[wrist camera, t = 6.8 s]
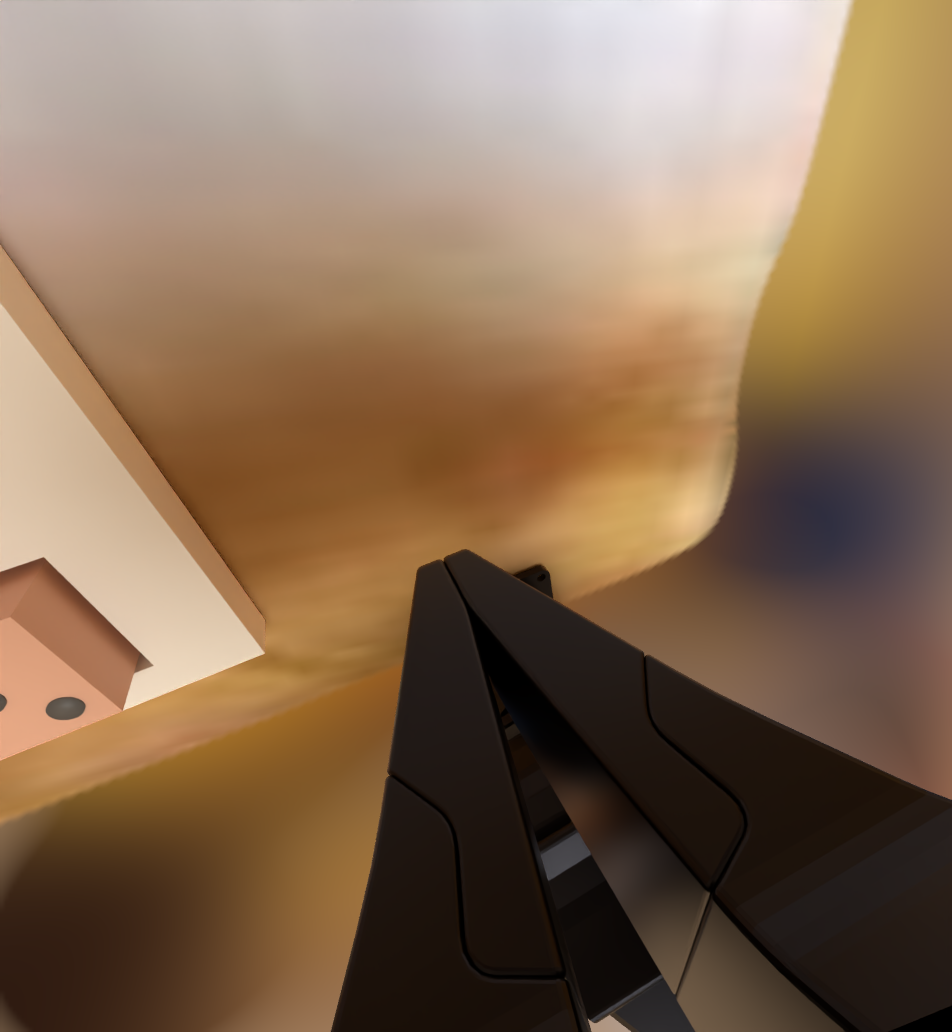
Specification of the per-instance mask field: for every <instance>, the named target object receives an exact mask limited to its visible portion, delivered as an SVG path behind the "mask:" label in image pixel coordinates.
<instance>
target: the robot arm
mask: <svg viewBox="0 0 952 1032" xmlns="http://www.w3.org/2000/svg"><path fill="white" fill-rule="evenodd" d="M539 575H540V576H539ZM538 576H539V577H538ZM391 743H392V744H391V749H390V756H389V763H388V769H387V772H388V774H389V775H390V776H388V777H387V778H386V781H385V788H384V794H383V801H382V808H381V814H380V820H379V826H378V831H377V837H376V842H375V848H374V854H373V860H372V865H371V870H370V874H369V878H368V883H367V887H366V891H365V896H364V900H363V904H362V909H361V913H360V917H359V922H358V926H357V930H356V935H355V938H354V942H353V947H352V951H351V954H350V959H349V962H348V966H347V970H346V974H345V978H344V982H343V986H342V990H341V994H340V998H339V1002H338V1005H337V1010H336V1013H335V1017H334V1021H333V1025H332V1030H331V1032H591V1028H590V1025H589V1021H588V1019H589V1020H591V1021H592V1022H594V1023H597V1022H599V1021H601V1020H602V1019H604V1018H605V1017H607V1016H609V1015H611V1016H612V1017H614V1018H615V1019H616V1020H617V1021H618V1022H620V1023H621V1024H622V1025H623V1026H625V1027H626V1028H628V1029H629V1030H630V1031H631V1032H952V800H950V799H948V798H945V797H943V796H940V795H937V794H935V793H932V792H929V791H927V790H925V789H922V788H920V787H918V786H915V785H913V784H911V783H909V782H906V781H904V780H902V779H900V778H897V777H895V776H893V775H891V774H889V773H887V772H884V771H882V770H880V769H878V768H876V767H874V766H872V765H869V764H867V763H865V762H863V761H861V760H859V759H856V758H854V757H852V756H850V755H848V754H846V753H843V752H841V751H839V750H837V749H834V748H833V747H831V746H828V745H826V744H824V743H821V742H820V741H818V740H815V739H813V738H811V737H809V736H807V735H805V734H802V733H800V732H798V731H796V730H794V729H792V728H789V727H787V726H785V725H783V724H781V723H779V722H776V721H774V720H772V719H770V718H768V717H766V716H764V715H761V714H760V713H757V712H755V711H753V710H751V709H749V708H747V707H745V706H743V705H741V704H739V703H737V702H735V701H732V700H731V699H729V698H727V697H725V696H723V695H721V694H719V693H716V692H714V691H713V690H711V689H709V688H707V687H706V686H704V685H702V684H700V683H698V682H696V681H695V680H693V679H691V678H689V677H687V676H686V675H684V674H682V673H680V672H678V671H676V670H675V669H673V668H671V667H669V666H668V665H666V664H664V663H662V662H661V661H659V660H657V659H656V658H654V657H652V656H651V655H646V656H645V658H644V652H643V651H641V650H640V649H638V648H637V647H635V646H633V645H631V644H630V643H628V642H626V641H624V640H623V639H621V638H619V637H618V636H616V635H614V634H612V633H611V632H609V631H607V630H606V629H604V628H602V627H600V626H599V625H597V624H595V623H594V622H592V621H590V620H588V619H587V618H585V617H583V616H582V615H580V614H578V613H576V612H574V611H573V610H571V609H569V608H568V607H566V606H564V605H563V604H561V603H559V602H557V601H556V600H554V599H553V595H552V587H551V580H550V574H549V572H548V570H547V569H546V568H545V567H544V566H538V567H535V568H533V569H530V570H528V571H525V572H523V573H521V574H518V575H516V576H513V575H511V574H509V573H508V572H506V571H504V570H502V569H501V568H499V567H497V566H496V565H494V564H492V563H490V562H489V561H487V560H485V559H483V558H482V557H480V556H478V555H477V554H475V553H473V552H471V551H470V550H467V549H464V550H461V551H458V552H456V553H453V554H451V555H448V556H446V557H445V558H444V562H443V561H442V560H436V561H433V562H430V563H428V564H425V565H423V566H421V567H419V568H418V570H417V573H416V580H415V587H414V594H413V600H412V607H411V614H410V621H409V627H408V634H407V641H406V648H405V654H404V661H403V668H402V675H401V682H400V689H399V696H398V702H397V709H396V716H395V722H394V729H393V736H392V742H391Z"/></svg>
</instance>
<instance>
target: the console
mask: <svg viewBox="0 0 952 1032" xmlns="http://www.w3.org/2000/svg"><path fill="white" fill-rule="evenodd" d="M42 557H44V558H45V559H46V560H47V561H48V562H49V563H50V564H51V565H52V566H53V567H54V568H55V569H56V570H57V571H59V572H60V573H61V574H62V575H63V576H64V577H65V578H66V579H67V580H68V581H69V582H70V583H71V584H72V585H73V586H74V587H75V588H76V589H77V590H78V591H79V592H80V593H81V594H82V595H83V596H84V597H85V598H86V599H87V600H88V601H89V602H90V603H91V604H92V605H93V606H94V607H95V608H96V609H97V610H98V611H99V612H100V613H101V614H102V615H103V616H104V617H105V618H106V619H107V620H108V621H109V622H110V623H111V624H112V625H113V626H114V627H115V628H116V629H117V630H118V631H119V632H120V633H121V634H122V635H123V636H124V637H125V638H126V639H127V640H128V641H129V642H130V643H131V644H132V645H133V646H134V647H135V648H137V649H138V650H139V651H140V655H139V658H138V661H137V665H136V668H135V672H134V675H133V678H132V682H131V685H130V688H129V692H128V695H127V699H126V702H125V705H124V709H123V710H126V709H128V708H131V707H133V706H136V705H138V704H141V703H143V702H146V701H148V700H151V699H153V698H156V697H158V696H161V695H163V694H166V693H168V692H170V691H173V690H175V689H178V688H180V687H183V686H185V685H188V684H190V683H193V682H195V681H198V680H200V679H203V678H205V677H208V676H210V675H213V674H215V673H218V672H220V671H223V670H225V669H228V668H230V667H233V666H235V665H238V664H240V663H243V662H245V661H247V660H250V659H252V658H255V657H257V656H260V655H262V654H265V619H264V618H263V616H262V615H261V614H260V612H259V611H258V609H257V608H256V606H255V605H254V604H253V602H252V601H251V599H250V598H249V597H248V595H247V594H246V592H245V591H244V589H243V588H242V587H241V585H240V584H239V582H238V581H237V580H236V578H235V577H234V575H233V574H232V572H231V571H230V570H229V568H228V567H227V565H226V564H225V562H224V561H223V560H222V558H221V557H220V555H219V554H218V553H217V551H216V550H215V548H214V547H213V545H212V544H211V543H210V541H209V540H208V538H207V537H206V536H205V534H204V533H203V531H202V530H201V528H200V527H199V526H198V524H197V523H196V521H195V520H194V519H193V517H192V516H191V514H190V513H189V511H188V510H187V509H186V507H185V506H184V504H183V503H182V502H181V500H180V499H179V497H178V496H177V494H176V493H175V492H174V490H173V489H172V487H171V486H170V484H169V483H168V482H167V480H166V479H165V477H164V476H163V475H162V473H161V472H160V470H159V469H158V467H157V466H156V465H155V463H154V462H153V460H152V459H151V458H150V456H149V455H148V453H147V452H146V450H145V449H144V448H143V446H142V445H141V443H140V442H139V441H138V439H137V438H136V436H135V435H134V433H133V432H132V431H131V429H130V428H129V426H128V425H127V424H126V422H125V421H124V419H123V418H122V416H121V415H120V414H119V412H118V411H117V409H116V408H115V406H114V405H113V404H112V402H111V401H110V399H109V398H108V397H107V395H106V394H105V392H104V391H103V389H102V388H101V387H100V385H99V384H98V382H97V381H96V380H95V378H94V377H93V375H92V374H91V372H90V371H89V370H88V368H87V367H86V365H85V364H84V363H83V361H82V360H81V358H80V357H79V355H78V354H77V353H76V351H75V350H74V348H73V347H72V346H71V344H70V343H69V341H68V340H67V338H66V337H65V336H64V334H63V333H62V331H61V330H60V328H59V327H58V326H57V324H56V323H55V321H54V320H53V319H52V317H51V316H50V314H49V313H48V311H47V310H46V309H45V307H44V306H43V304H42V303H41V302H40V300H39V299H38V297H37V296H36V294H35V293H34V292H33V290H32V289H31V287H30V286H29V285H28V283H27V282H26V280H25V279H24V277H23V276H22V275H21V273H20V272H19V270H18V269H17V267H16V266H15V265H14V263H13V262H12V260H11V259H10V258H9V256H8V255H7V253H6V252H5V250H4V249H3V248H2V246H1V245H0V572H1V571H4V570H7V569H10V568H13V567H16V566H19V565H22V564H25V563H28V562H31V561H34V560H37V559H39V558H42Z"/></svg>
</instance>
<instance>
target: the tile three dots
mask: <svg viewBox="0 0 952 1032" xmlns="http://www.w3.org/2000/svg"><path fill="white" fill-rule="evenodd" d="M139 655H140V651H139V650H138V649H137V648H135V647H134V646H133V645H132V644H131V643H130V642H129V641H128V640H127V639H126V638H125V637H124V636H123V635H122V634H121V633H120V632H119V631H118V630H117V629H116V628H115V627H114V626H113V625H112V624H111V623H110V622H109V621H108V620H107V619H106V618H105V617H104V616H103V615H102V614H101V613H100V612H99V611H98V610H97V609H96V608H95V607H94V606H93V605H92V604H91V603H90V602H89V601H88V600H87V599H86V598H85V597H84V596H83V595H82V594H81V593H80V592H79V591H78V590H77V589H76V588H75V587H74V586H73V585H72V584H71V583H70V582H69V581H68V580H67V579H66V578H65V577H64V576H63V575H62V574H61V573H60V572H59V571H57V570H56V569H55V568H54V567H53V566H52V565H51V564H50V563H49V562H48V561H47V560H46V559H45V558H44V557H42V558H39V559H37V560H34V561H31V562H28V563H25V564H22V565H19V566H16V567H13V568H10V569H7V570H4V571H1V572H0V760H3V759H5V758H8V757H10V756H12V755H15V754H17V753H20V752H22V751H25V750H27V749H30V748H32V747H35V746H37V745H40V744H42V743H45V742H47V741H50V740H52V739H55V738H57V737H60V736H62V735H65V734H67V733H70V732H72V731H75V730H77V729H80V728H82V727H84V726H87V725H89V724H92V723H94V722H97V721H99V720H102V719H104V718H107V717H109V716H112V715H114V714H117V713H119V712H122V711H123V709H124V705H125V702H126V699H127V695H128V692H129V688H130V685H131V682H132V678H133V675H134V672H135V668H136V665H137V661H138V658H139Z"/></svg>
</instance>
